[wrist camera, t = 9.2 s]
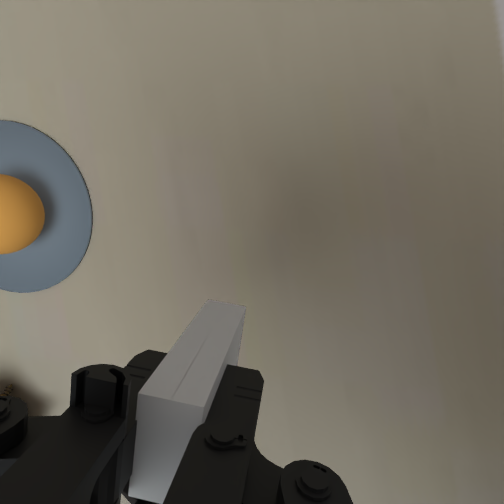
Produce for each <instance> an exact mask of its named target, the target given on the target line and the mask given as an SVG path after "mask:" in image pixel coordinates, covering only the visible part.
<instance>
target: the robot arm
mask: <svg viewBox="0 0 504 504" xmlns="http://www.w3.org/2000/svg"><path fill="white" fill-rule="evenodd" d="M245 311H246V306H242V305H236V304H231V303H225V302H220V301H215V300H209V299H208V300H207V301H206V303H205V304H204V305H203V307H202V308H201V309H200V311H199V312H198V313H197V315H196V316H195V317H194V319H193V320H192V321H191V323H190V324H189V325H188V327H187V328H186V329H185V331H184V332H183V333H182V335H181V336H180V338H179V339H178V340H177V342H176V343H175V344H174V346H173V347H172V348H171V350H170V351H169V352H168V353H163V352H158V351H153V350H146V351H144V352H142V353H140V354H138V355H136V356H134V358H133V359H132V360H131V361H130V362H129V363H128V364H127V366H125V367H124V368H121V367H118V366H115V365H108V364H98V365H90V366H87V367H83V368H80V369H78V370H77V371H75V372H73V373H72V377H71V395H70V407H69V408H68V409H67V410H66V411H65V412H64V413H63V414H62V415H61V416H35V417H28V408H27V404H26V403H25V402H24V401H23V400H21V399H20V398H16V397H12V396H0V504H120V499H121V492H122V491H123V489H124V487H125V485H126V484H127V482H128V480H129V478H130V482H129V492H128V496H130V497H134V498H138V499H142V500H147V501H151V502H155V503H159V504H353V502H352V500H351V497H350V495H349V493H348V490H347V488H346V486H345V484H344V483H343V481H342V480H341V478H340V477H339V476H338V475H337V474H336V473H335V472H334V471H333V470H331V469H330V468H329V467H327V466H325V465H323V464H320V463H318V462H314V461H309V460H299V461H293V462H292V463H290V464H288V465H286V466H285V468H284V469H283V468H281V467H279V466H277V465H275V464H274V463H272V462H270V461H269V460H267V459H266V458H265V457H264V456H263V455H262V454H261V453H260V452H259V450H258V449H257V447H256V445H255V442H254V436H255V430H256V425H257V419H258V413H259V408H260V402H261V396H262V390H263V384H264V380H263V378H262V376H261V374H260V372H259V371H258V370H253V369H248V368H243V367H238V366H237V363H238V356H239V350H240V343H241V337H242V331H243V324H244V318H245Z"/></svg>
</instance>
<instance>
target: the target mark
mask: <svg viewBox="0 0 504 504" xmlns="http://www.w3.org/2000/svg"><path fill="white" fill-rule="evenodd" d="M0 174H4V175H9V176H12V177H15V178H17V179H20V180H21V181H23V182H25V183H26V184H28V185H29V186H30V187H31V188H32V189H33V190H34V191H35V192H36V193H37V194H38V196H39V197H40V199H41V201H42V203H43V207H44V212H45V221H44V225H43V229H42V231H41V233H40V234H39V236H38V237H37V238H36V240H35V241H34V242H33V243H31V244H30V245H29V246H27V247H26V248H24V249H22V250H19V251H17V252H13V253H9V254H0V289H2V290H6V291H11V292H19V293H22V292H35V291H40V290H44V289H47V288H49V287H52V286H54V285H56V284H58V283H59V282H61V281H62V280H64V279H65V278H67V277H68V276H69V275H70V274H71V273H72V272H73V271H74V270H75V269H76V267H77V266H78V265H79V264H80V262H81V260H82V258H83V257H84V255H85V253H86V250H87V248H88V245H89V241H90V237H91V231H92V207H91V201H90V197H89V193H88V189H87V187H86V184H85V182H84V179H83V177H82V175H81V173H80V171H79V169H78V168H77V166H76V165H75V163H74V162H73V160H72V159H71V157H70V156H69V155H68V154H67V153H66V152H65V151H64V149H63V148H62V147H60V146H59V145H58V144H57V143H56V142H55V141H54V140H52V139H51V138H50V137H48V136H47V135H45V134H44V133H42V132H40V131H38V130H36V129H35V128H32V127H30V126H27V125H24V124H21V123H16V122H12V121H1V120H0Z"/></svg>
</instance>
